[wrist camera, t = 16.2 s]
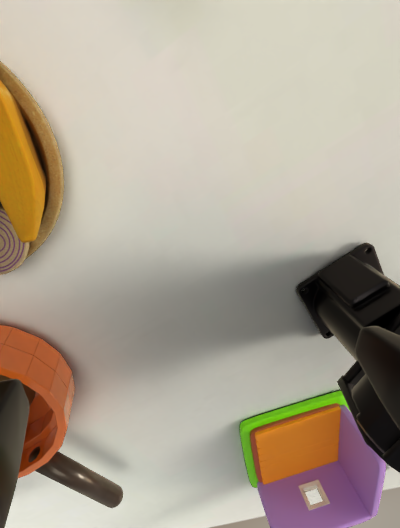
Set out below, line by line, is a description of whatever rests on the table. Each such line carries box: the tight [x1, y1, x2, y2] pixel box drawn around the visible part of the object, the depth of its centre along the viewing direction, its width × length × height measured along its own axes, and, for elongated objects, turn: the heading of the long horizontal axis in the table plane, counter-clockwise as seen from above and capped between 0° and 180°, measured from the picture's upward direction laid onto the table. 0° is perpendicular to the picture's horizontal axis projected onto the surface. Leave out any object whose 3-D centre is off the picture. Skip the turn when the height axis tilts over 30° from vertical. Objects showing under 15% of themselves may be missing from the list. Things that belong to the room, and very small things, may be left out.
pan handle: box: [28, 446, 123, 508], centre depth 25 cm, size 10×2×2 cm, turn 33°
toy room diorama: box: [240, 390, 386, 528], centre depth 31 cm, size 12×12×7 cm
